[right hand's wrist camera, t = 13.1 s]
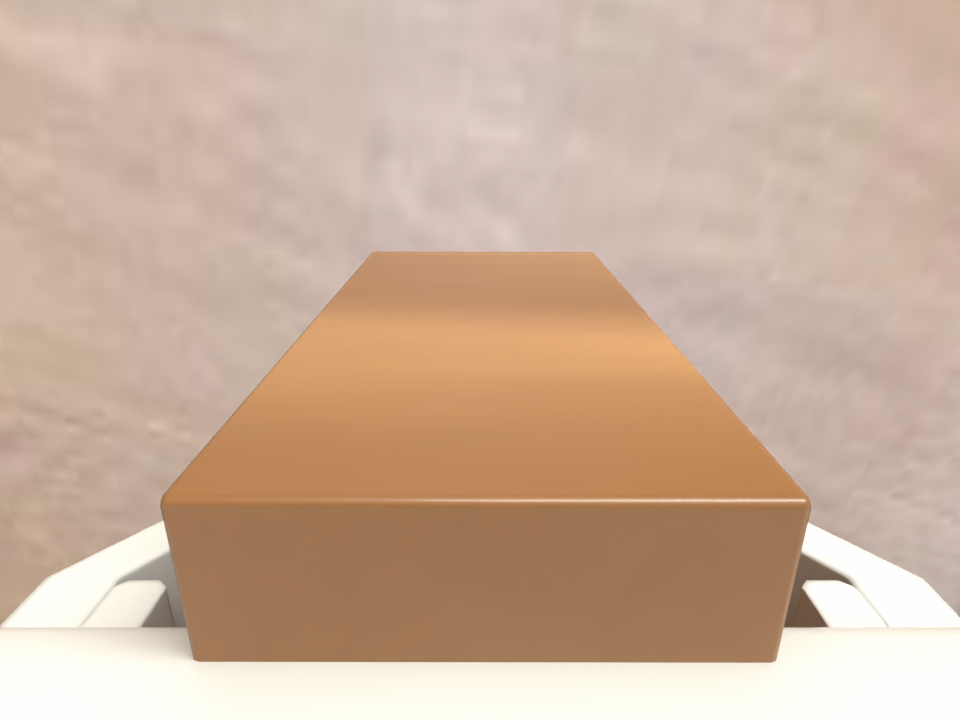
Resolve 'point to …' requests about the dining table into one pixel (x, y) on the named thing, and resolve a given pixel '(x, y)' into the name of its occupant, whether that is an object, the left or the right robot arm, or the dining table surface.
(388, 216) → the dining table surface
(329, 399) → the bar
